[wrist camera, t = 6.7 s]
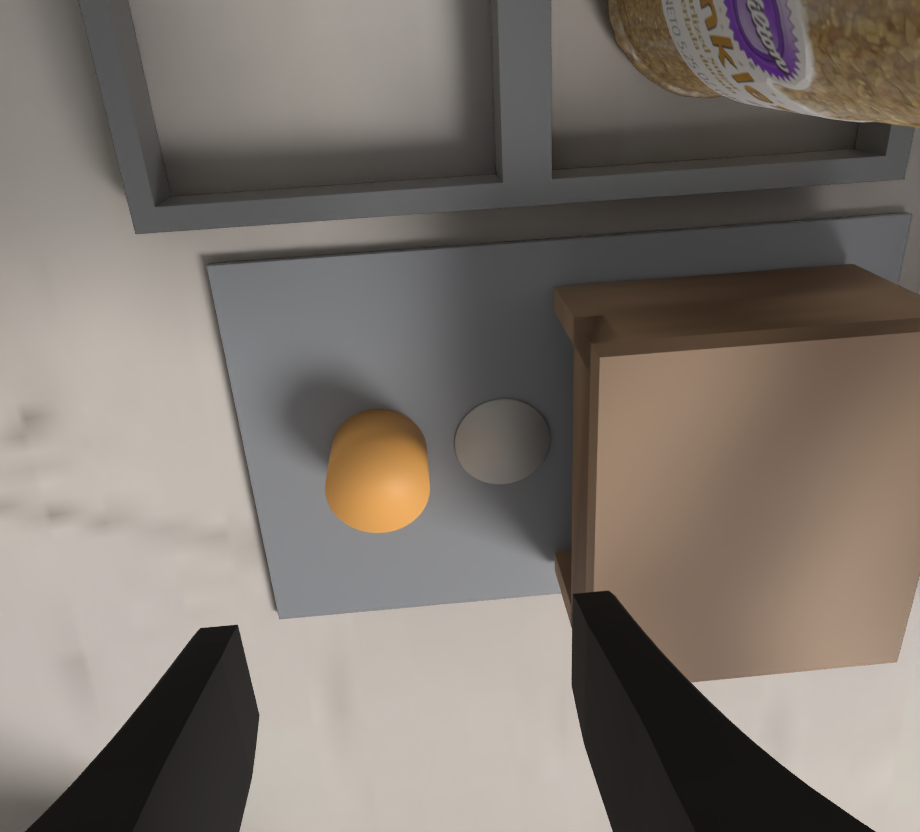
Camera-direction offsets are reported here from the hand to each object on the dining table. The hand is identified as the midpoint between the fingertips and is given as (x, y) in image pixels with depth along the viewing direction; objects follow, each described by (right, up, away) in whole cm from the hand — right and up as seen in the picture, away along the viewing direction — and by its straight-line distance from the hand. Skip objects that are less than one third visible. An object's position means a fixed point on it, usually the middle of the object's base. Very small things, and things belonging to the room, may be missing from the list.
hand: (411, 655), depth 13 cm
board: (+3, +4, +7) cm, 8 cm away
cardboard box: (+7, +4, +7) cm, 10 cm away
